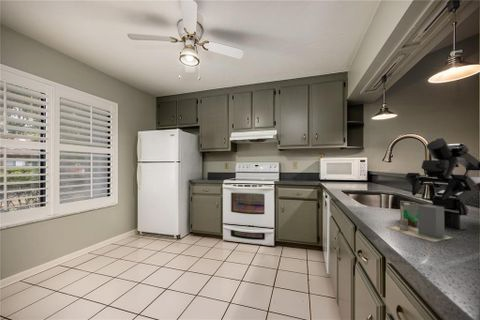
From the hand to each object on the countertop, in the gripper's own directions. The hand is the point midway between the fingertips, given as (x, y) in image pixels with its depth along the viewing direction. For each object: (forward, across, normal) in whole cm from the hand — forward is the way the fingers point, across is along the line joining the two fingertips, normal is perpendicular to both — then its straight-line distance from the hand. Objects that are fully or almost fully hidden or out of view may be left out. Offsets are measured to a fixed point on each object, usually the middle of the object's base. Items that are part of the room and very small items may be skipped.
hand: (426, 196), depth 77 cm
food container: (+8, -7, +12) cm, 16 cm away
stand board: (+15, 0, +4) cm, 15 cm away
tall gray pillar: (+13, +4, +5) cm, 14 cm away
